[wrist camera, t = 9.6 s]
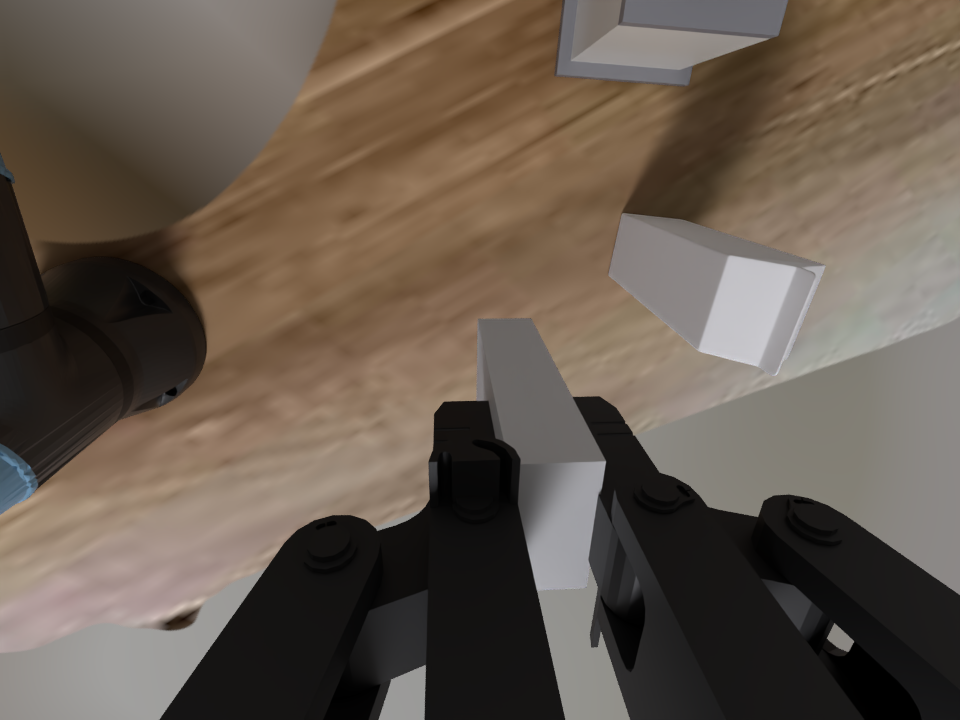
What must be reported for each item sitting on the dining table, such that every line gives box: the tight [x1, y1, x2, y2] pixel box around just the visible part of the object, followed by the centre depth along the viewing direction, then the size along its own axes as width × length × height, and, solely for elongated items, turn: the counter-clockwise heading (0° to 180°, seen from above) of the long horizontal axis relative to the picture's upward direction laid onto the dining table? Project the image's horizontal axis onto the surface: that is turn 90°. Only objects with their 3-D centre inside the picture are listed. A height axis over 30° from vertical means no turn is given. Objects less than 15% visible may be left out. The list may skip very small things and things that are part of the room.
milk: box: [608, 213, 826, 376], centre depth 35 cm, size 6×6×22 cm
